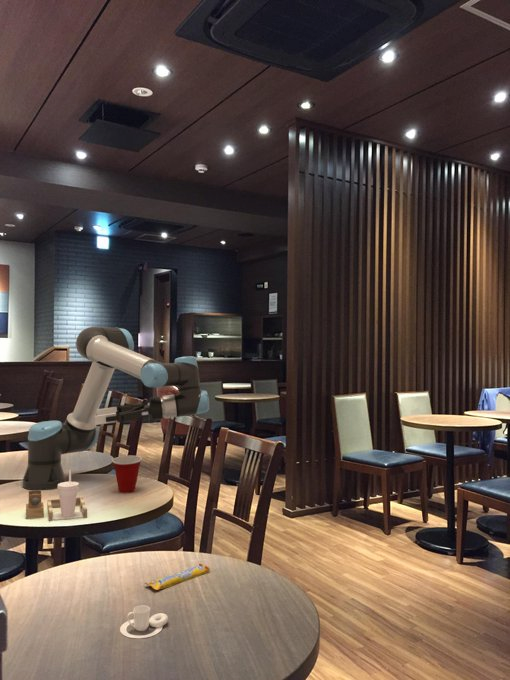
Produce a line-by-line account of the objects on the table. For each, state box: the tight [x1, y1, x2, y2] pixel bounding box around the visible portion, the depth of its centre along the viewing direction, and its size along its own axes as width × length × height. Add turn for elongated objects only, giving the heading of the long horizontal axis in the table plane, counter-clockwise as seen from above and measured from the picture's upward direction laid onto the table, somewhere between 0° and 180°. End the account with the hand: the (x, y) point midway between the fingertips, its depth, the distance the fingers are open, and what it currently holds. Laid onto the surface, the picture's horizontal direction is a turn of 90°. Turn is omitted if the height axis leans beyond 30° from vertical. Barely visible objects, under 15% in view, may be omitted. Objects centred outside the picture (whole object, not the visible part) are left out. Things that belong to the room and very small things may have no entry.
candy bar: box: [144, 563, 211, 591], centre depth 132 cm, size 17×4×2 cm, turn 136°
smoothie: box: [56, 469, 80, 517], centre depth 178 cm, size 6×6×14 cm
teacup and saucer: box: [119, 605, 169, 640], centre depth 109 cm, size 9×8×4 cm
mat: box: [53, 511, 83, 521], centre depth 178 cm, size 6×8×1 cm
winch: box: [25, 490, 45, 520], centre depth 179 cm, size 6×5×7 cm
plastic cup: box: [111, 455, 143, 494], centre depth 210 cm, size 11×11×12 cm
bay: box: [46, 496, 88, 522], centre depth 182 cm, size 15×11×2 cm
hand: (95, 417), depth 186 cm, fingers open, 13 cm apart
